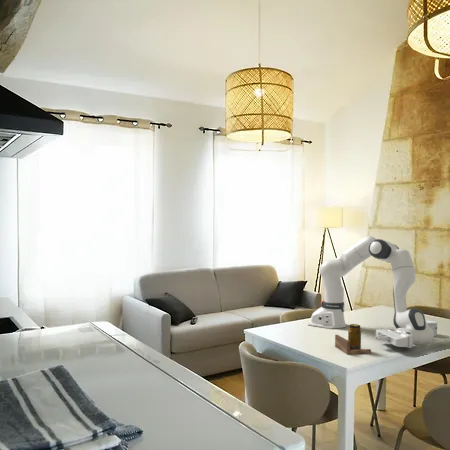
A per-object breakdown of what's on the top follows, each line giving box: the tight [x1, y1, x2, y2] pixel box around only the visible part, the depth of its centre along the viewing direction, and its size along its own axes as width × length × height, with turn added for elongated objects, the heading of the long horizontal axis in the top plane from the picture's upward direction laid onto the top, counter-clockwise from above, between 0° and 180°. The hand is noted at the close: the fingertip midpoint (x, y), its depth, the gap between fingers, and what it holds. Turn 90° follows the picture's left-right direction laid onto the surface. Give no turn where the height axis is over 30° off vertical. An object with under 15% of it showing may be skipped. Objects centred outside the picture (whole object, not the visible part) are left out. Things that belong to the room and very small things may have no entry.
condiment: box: [347, 323, 363, 350], centre depth 231 cm, size 7×8×12 cm
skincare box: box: [426, 320, 438, 337], centre depth 262 cm, size 6×6×7 cm
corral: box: [334, 334, 372, 355], centre depth 231 cm, size 12×13×6 cm
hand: (376, 338), depth 234 cm, fingers closed
